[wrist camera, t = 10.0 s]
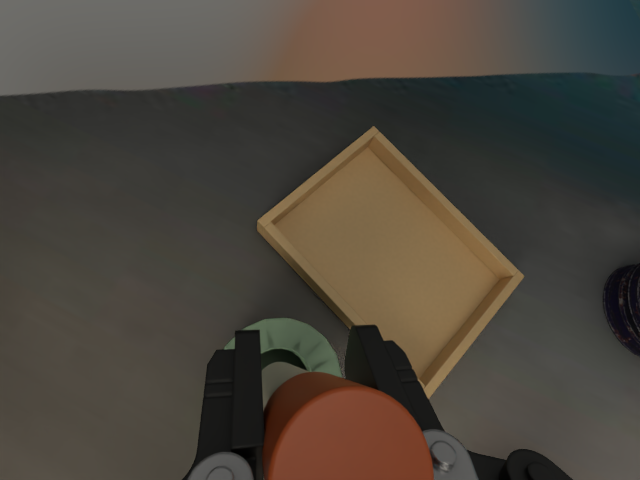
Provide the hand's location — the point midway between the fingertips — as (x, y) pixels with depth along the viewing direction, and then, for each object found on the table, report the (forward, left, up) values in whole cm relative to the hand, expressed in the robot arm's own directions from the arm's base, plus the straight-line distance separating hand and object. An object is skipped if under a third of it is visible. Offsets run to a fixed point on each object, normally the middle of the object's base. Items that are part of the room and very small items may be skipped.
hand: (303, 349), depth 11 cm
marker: (+2, -1, -10) cm, 10 cm away
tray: (+2, +13, -20) cm, 24 cm away
